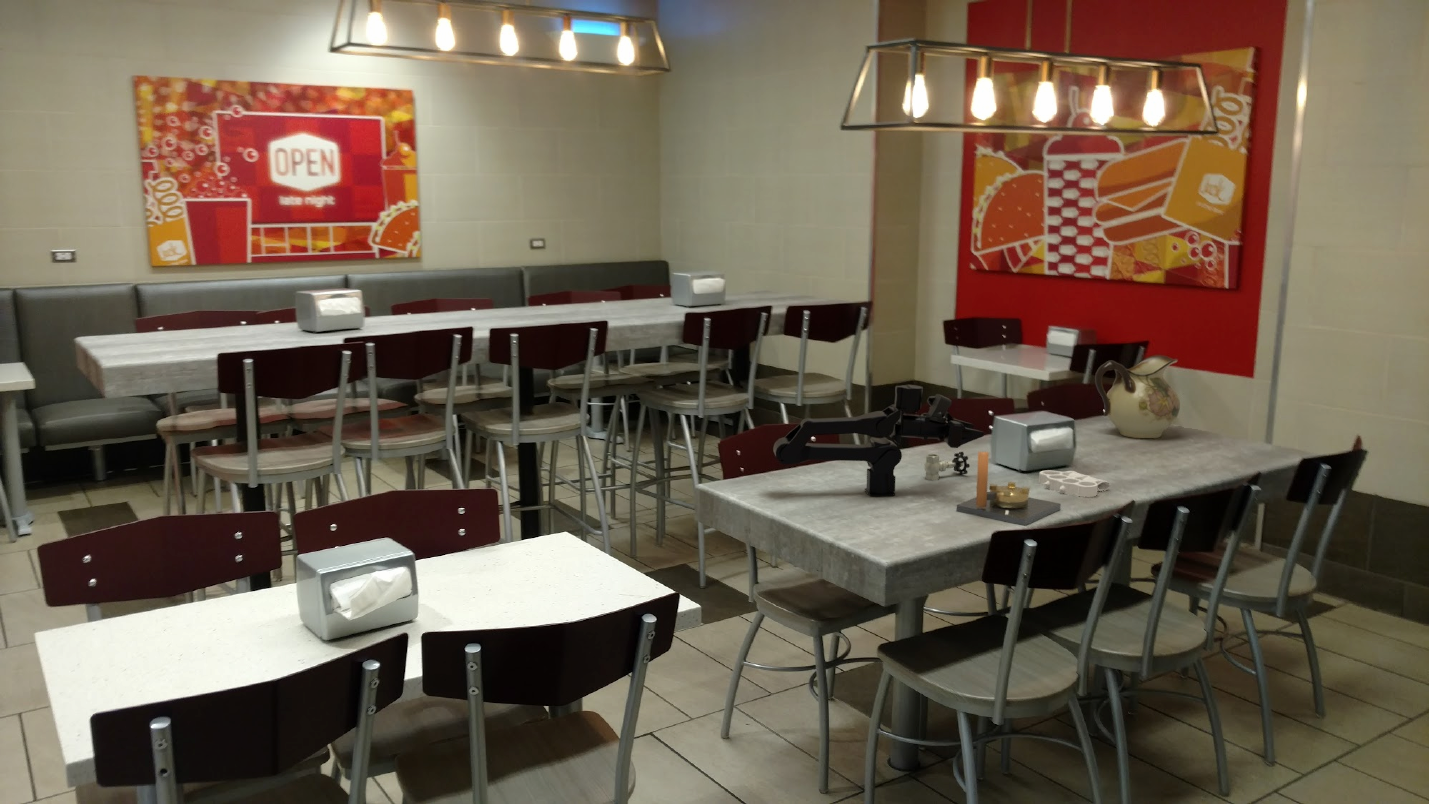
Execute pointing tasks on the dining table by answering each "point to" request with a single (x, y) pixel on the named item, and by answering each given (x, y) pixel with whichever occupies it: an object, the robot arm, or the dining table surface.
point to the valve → (944, 465)
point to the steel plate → (1011, 511)
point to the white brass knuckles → (1072, 483)
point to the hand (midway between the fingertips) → (978, 430)
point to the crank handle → (998, 489)
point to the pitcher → (1140, 397)
